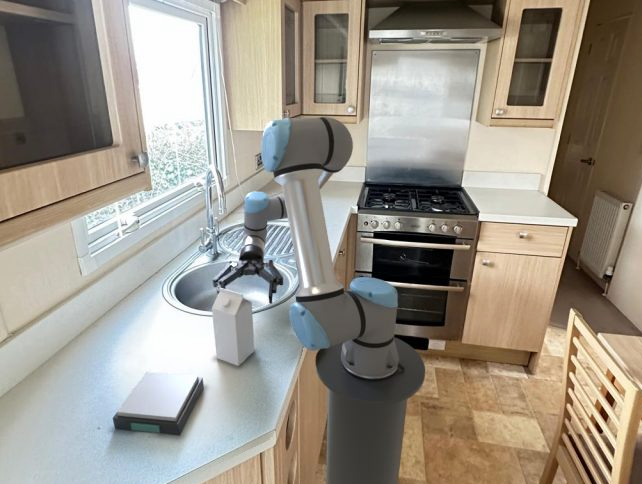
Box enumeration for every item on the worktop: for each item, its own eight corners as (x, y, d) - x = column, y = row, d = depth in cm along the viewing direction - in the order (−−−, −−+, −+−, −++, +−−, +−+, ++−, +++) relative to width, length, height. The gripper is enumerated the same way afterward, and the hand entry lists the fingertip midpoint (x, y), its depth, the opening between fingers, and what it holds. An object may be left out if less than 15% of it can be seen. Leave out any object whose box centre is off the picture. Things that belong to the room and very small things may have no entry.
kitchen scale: (203, 387, 95) (202, 374, 94) (178, 437, 82) (176, 422, 81) (147, 383, 97) (144, 369, 96) (113, 430, 84) (110, 415, 82)
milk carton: (233, 343, 112) (228, 281, 105) (254, 351, 108) (251, 287, 102) (216, 358, 106) (210, 293, 99) (238, 366, 103) (233, 300, 96)
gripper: (292, 262, 130) (291, 309, 113) (214, 264, 130) (201, 311, 113) (291, 243, 126) (290, 288, 108) (210, 245, 126) (197, 291, 108)
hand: (245, 300), depth 111 cm, fingers open, 13 cm apart
